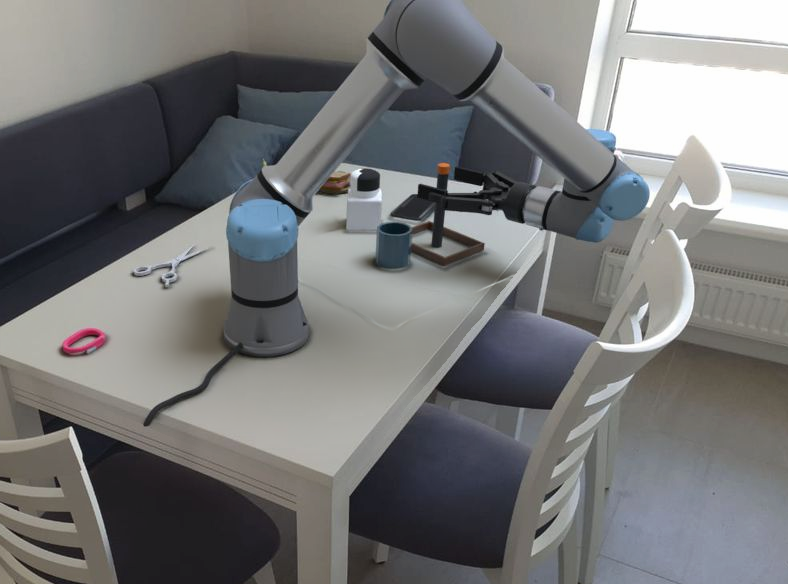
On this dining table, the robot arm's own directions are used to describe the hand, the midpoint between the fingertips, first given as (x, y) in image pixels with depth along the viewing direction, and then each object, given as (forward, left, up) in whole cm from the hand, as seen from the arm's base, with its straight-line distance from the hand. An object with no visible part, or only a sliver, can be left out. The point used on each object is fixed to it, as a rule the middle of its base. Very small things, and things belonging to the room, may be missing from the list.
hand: (437, 181), depth 166 cm
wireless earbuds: (+28, +8, -15) cm, 33 cm away
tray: (0, -1, -15) cm, 15 cm away
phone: (+13, +17, -15) cm, 26 cm away
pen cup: (-12, -1, -15) cm, 19 cm away
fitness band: (-77, +10, -15) cm, 79 cm away
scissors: (-47, +29, -15) cm, 57 cm away
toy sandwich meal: (+9, +42, -15) cm, 46 cm away
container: (-3, +18, -15) cm, 24 cm away
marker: (0, -1, -14) cm, 14 cm away
